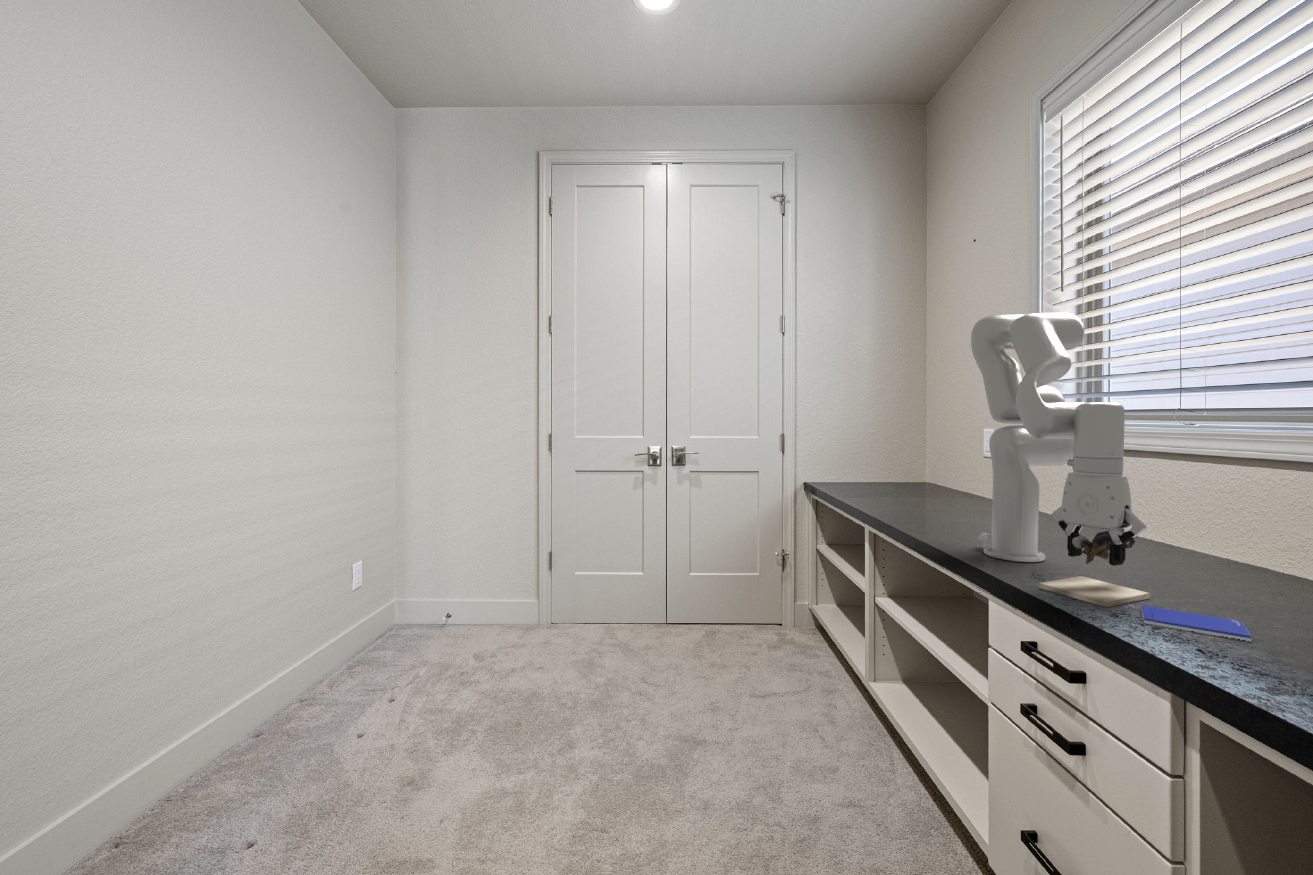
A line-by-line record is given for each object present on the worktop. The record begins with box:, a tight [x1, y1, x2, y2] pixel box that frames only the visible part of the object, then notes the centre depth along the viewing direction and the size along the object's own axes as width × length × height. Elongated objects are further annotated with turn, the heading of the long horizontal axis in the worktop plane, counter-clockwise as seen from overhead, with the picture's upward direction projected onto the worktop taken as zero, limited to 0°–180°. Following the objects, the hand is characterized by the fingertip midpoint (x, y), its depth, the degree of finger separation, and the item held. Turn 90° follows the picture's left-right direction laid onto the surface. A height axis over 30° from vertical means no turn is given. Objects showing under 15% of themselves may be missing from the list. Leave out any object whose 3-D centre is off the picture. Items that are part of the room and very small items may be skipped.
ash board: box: [1038, 575, 1151, 608], centre depth 109 cm, size 12×13×1 cm
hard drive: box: [1140, 605, 1253, 643], centre depth 93 cm, size 2×8×12 cm
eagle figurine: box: [1072, 530, 1136, 565], centre depth 109 cm, size 8×7×9 cm
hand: (1095, 559), depth 108 cm, fingers closed on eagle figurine, 6 cm apart
